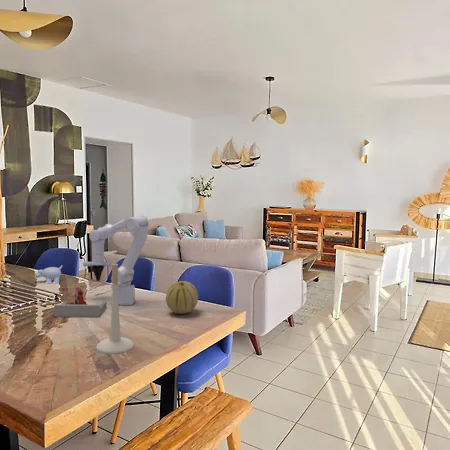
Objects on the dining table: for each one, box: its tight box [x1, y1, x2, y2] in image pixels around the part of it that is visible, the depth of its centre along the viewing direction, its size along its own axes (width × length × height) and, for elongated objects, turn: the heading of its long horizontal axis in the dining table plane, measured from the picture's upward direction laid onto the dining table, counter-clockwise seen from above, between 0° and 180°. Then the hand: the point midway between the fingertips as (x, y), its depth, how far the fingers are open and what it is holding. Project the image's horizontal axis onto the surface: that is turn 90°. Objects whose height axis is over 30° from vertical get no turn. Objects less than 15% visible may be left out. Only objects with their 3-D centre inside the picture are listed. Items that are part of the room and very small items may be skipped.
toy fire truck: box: [69, 287, 89, 305], centre depth 184 cm, size 7×12×10 cm, turn 30°
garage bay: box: [53, 300, 108, 318], centre depth 184 cm, size 19×14×5 cm
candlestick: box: [96, 263, 135, 355], centre depth 144 cm, size 13×13×30 cm
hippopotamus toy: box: [34, 264, 63, 285], centre depth 241 cm, size 11×15×10 cm
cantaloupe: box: [165, 280, 199, 315], centre depth 185 cm, size 15×15×15 cm
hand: (98, 280), depth 206 cm, fingers closed
